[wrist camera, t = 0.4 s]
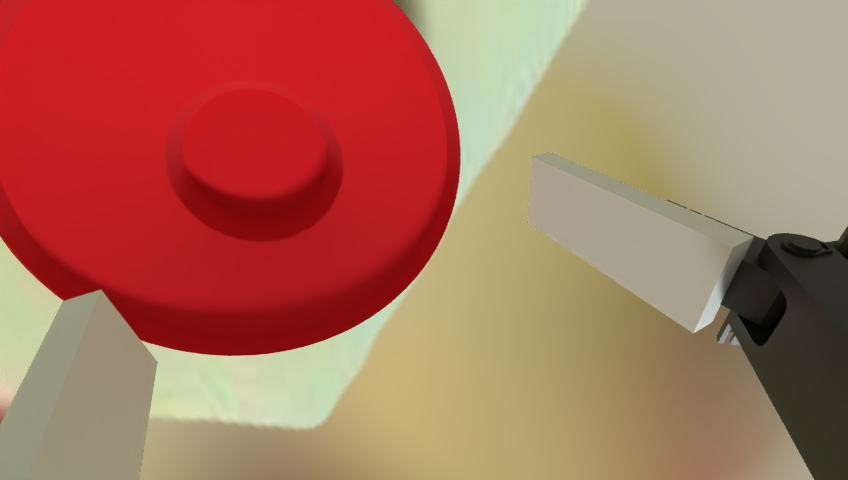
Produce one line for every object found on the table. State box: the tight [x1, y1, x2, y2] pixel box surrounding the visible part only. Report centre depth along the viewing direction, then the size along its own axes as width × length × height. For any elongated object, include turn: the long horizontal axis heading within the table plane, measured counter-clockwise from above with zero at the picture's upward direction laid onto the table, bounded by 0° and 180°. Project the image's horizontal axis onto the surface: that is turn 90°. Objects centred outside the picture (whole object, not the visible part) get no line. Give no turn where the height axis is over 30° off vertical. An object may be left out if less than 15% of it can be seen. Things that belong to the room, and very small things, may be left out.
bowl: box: [0, 0, 460, 356], centre depth 30 cm, size 30×30×10 cm
